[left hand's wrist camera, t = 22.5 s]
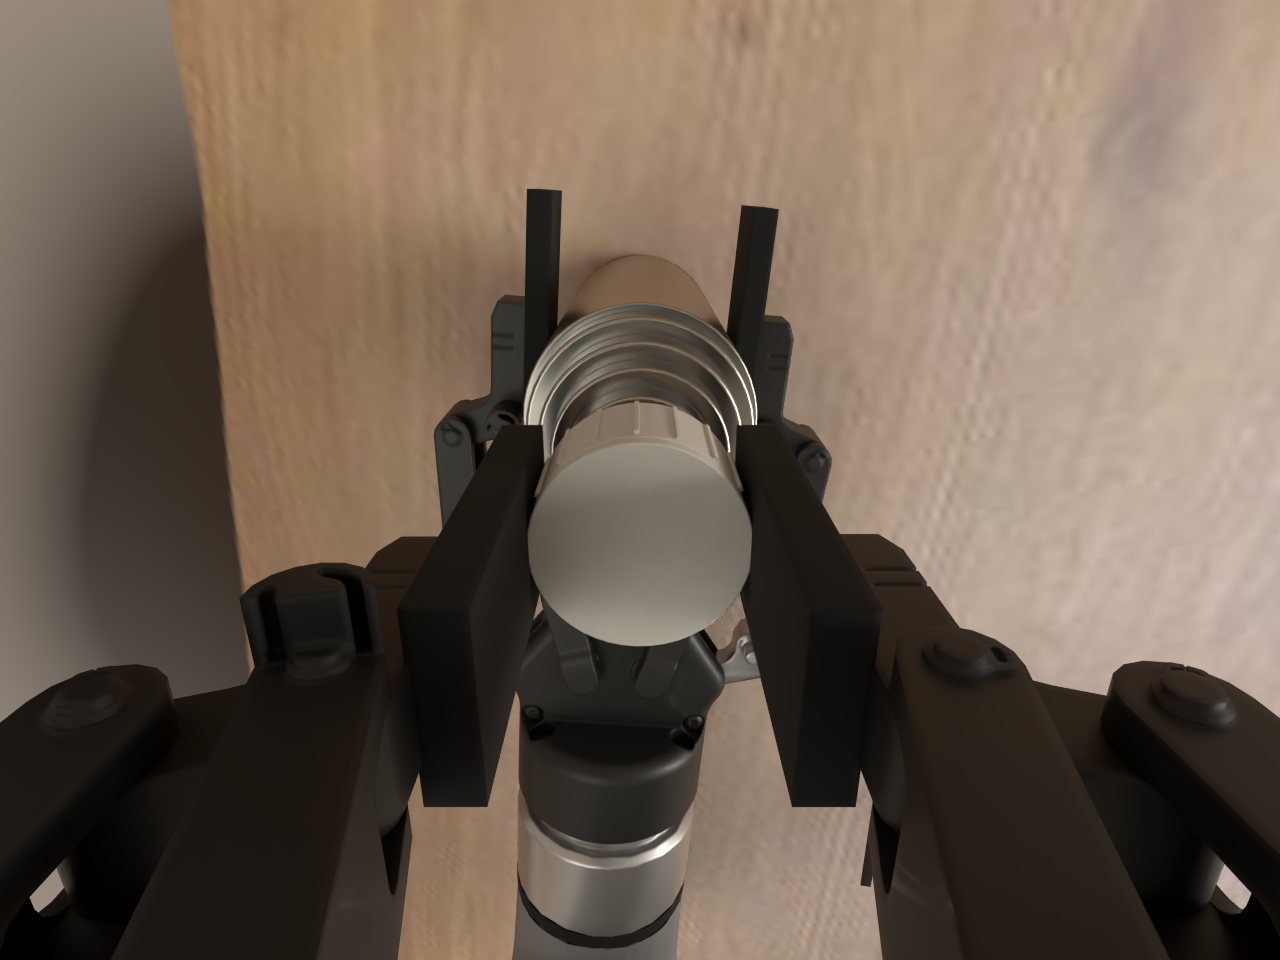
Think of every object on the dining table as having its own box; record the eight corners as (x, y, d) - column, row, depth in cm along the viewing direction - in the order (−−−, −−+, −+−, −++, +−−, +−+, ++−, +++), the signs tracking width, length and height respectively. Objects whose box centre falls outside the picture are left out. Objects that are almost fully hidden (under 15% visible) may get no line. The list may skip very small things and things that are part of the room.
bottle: (715, 390, 32) (816, 663, 14) (578, 403, 32) (498, 690, 14) (705, 247, 30) (811, 343, 11) (559, 263, 30) (433, 382, 12)
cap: (511, 539, 15) (489, 600, 12) (587, 364, 13) (577, 399, 11) (685, 608, 15) (692, 679, 13) (774, 448, 14) (799, 496, 12)
